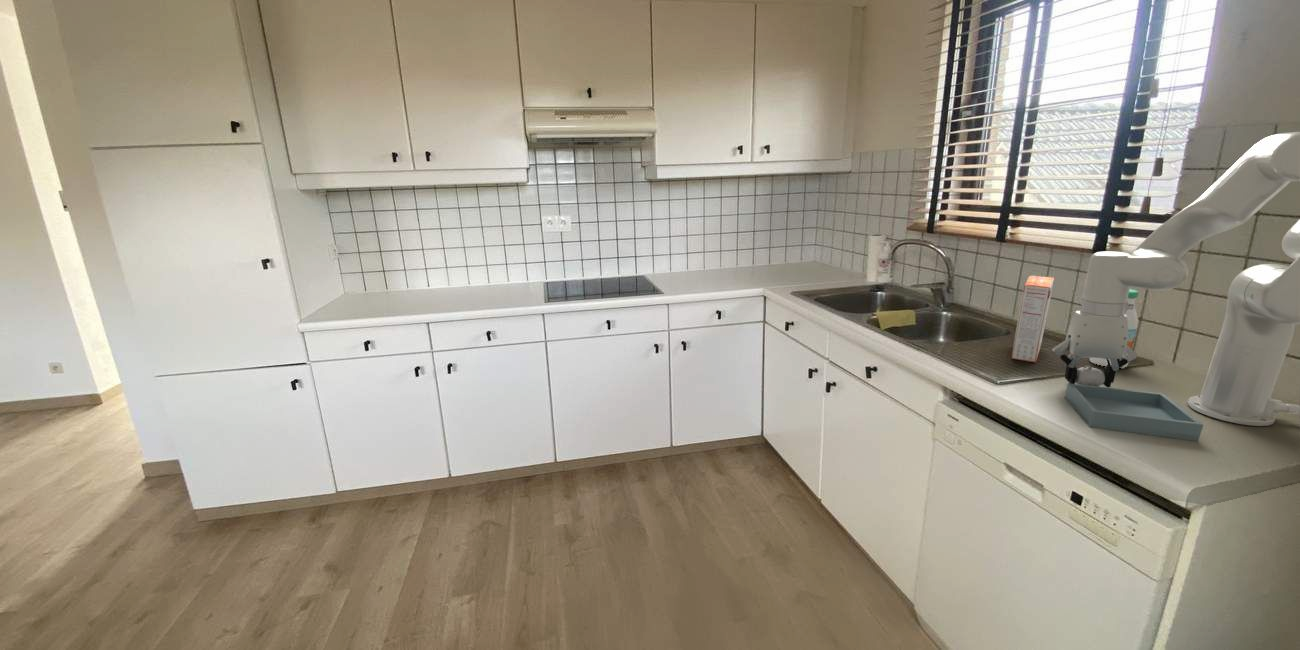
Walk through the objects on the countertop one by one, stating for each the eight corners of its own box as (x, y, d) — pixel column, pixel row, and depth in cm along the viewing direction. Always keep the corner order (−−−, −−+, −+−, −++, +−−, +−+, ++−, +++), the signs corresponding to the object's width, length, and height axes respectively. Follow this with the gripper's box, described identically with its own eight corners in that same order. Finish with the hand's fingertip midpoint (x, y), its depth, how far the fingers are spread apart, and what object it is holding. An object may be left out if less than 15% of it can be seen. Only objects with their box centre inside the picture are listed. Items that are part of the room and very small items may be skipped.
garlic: (1076, 389, 121) (1080, 368, 119) (1067, 380, 126) (1070, 360, 124) (1108, 392, 119) (1113, 370, 117) (1097, 383, 124) (1102, 362, 122)
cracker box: (1015, 345, 154) (1029, 274, 148) (1040, 349, 151) (1056, 277, 144) (1008, 358, 144) (1023, 283, 138) (1035, 363, 140) (1052, 286, 134)
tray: (1158, 408, 114) (1163, 393, 113) (1198, 441, 101) (1203, 424, 100) (1064, 397, 120) (1067, 383, 119) (1089, 427, 107) (1093, 411, 106)
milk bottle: (1106, 369, 135) (1126, 293, 130) (1081, 359, 143) (1098, 286, 137) (1135, 368, 136) (1156, 293, 130) (1108, 358, 143) (1127, 286, 137)
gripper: (1143, 305, 117) (1127, 381, 122) (1050, 302, 124) (1038, 374, 129) (1160, 314, 111) (1142, 393, 116) (1061, 310, 117) (1048, 386, 122)
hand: (1087, 382), depth 122 cm, fingers closed on garlic, 6 cm apart
